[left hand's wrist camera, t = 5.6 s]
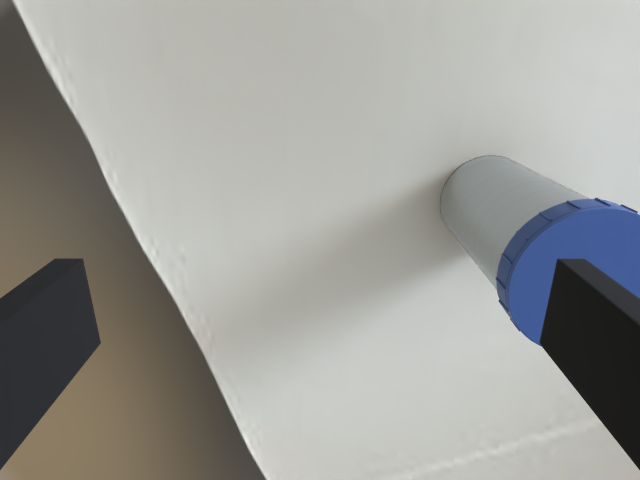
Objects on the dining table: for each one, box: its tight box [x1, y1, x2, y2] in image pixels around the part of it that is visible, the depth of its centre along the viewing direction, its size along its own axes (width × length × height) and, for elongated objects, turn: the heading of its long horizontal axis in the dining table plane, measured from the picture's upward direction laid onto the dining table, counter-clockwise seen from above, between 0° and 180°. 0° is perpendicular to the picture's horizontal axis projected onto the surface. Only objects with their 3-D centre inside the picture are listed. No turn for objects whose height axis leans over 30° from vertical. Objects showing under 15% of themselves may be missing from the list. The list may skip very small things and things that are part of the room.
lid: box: [495, 198, 640, 346], centre depth 26 cm, size 9×9×2 cm
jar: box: [440, 156, 589, 290], centre depth 33 cm, size 8×8×16 cm
